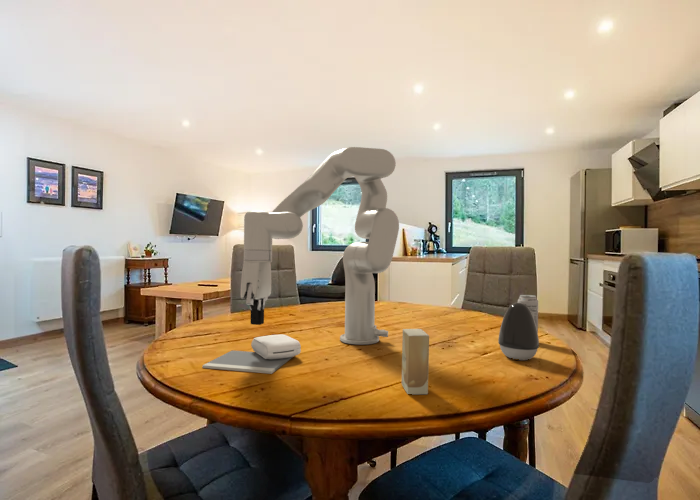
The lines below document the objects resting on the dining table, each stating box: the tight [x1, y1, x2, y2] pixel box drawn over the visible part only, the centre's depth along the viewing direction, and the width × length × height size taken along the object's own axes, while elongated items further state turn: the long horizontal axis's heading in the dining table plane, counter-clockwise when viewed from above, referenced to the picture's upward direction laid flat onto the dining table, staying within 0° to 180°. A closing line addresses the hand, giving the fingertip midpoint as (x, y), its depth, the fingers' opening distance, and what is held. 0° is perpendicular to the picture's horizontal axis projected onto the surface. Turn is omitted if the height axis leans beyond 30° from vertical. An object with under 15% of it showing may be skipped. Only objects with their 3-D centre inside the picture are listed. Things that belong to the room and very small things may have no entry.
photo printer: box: [251, 334, 302, 360], centre depth 102 cm, size 10×4×12 cm
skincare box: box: [401, 328, 430, 395], centre depth 80 cm, size 6×4×12 cm
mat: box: [202, 350, 293, 375], centre depth 97 cm, size 18×14×1 cm
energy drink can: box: [517, 294, 539, 334], centre depth 122 cm, size 6×6×15 cm
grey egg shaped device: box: [497, 302, 540, 361], centre depth 104 cm, size 10×10×15 cm
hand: (257, 323), depth 103 cm, fingers closed
